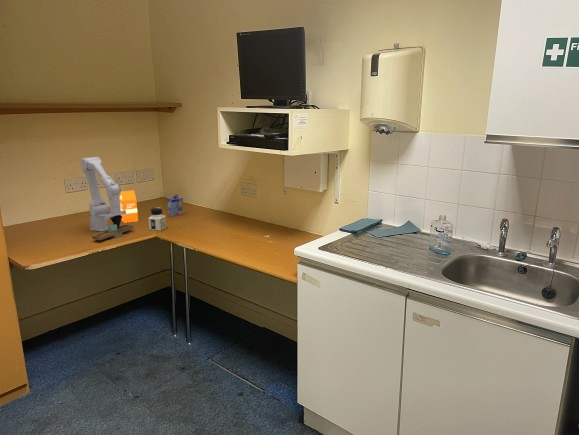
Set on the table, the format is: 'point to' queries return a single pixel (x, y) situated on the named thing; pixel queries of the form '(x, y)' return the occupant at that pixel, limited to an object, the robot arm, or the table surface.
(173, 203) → the ink cartridge box
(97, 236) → the beam
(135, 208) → the orange juice
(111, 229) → the block
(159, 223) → the container
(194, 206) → the table surface
